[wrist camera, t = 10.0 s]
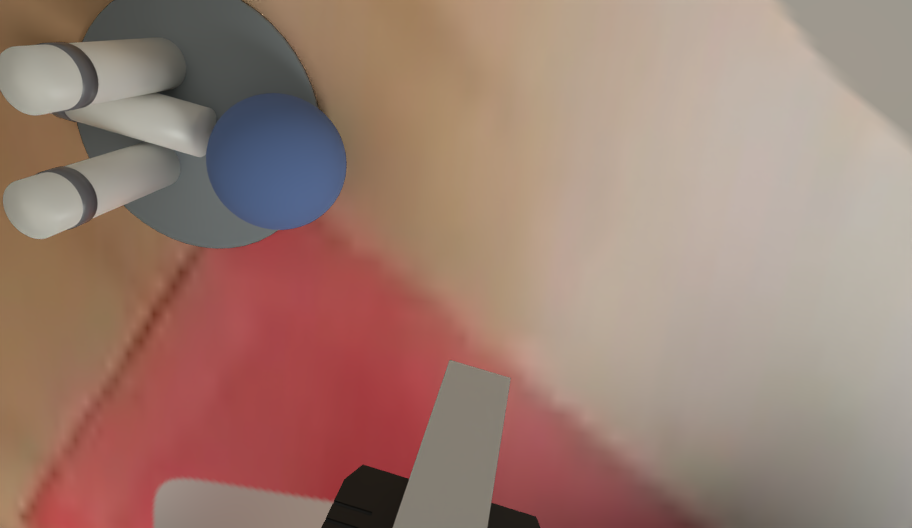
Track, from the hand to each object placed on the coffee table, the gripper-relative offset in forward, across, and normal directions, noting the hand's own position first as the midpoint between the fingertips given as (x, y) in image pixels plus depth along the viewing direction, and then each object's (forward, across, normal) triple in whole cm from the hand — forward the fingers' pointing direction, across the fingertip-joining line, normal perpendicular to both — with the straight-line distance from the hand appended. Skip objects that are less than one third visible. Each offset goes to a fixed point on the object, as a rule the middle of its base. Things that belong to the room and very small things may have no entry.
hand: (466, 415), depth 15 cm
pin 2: (+16, +18, +2) cm, 25 cm away
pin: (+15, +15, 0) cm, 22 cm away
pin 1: (+16, +18, -2) cm, 25 cm away
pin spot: (+16, +16, 0) cm, 23 cm away
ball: (+13, +11, 0) cm, 17 cm away
